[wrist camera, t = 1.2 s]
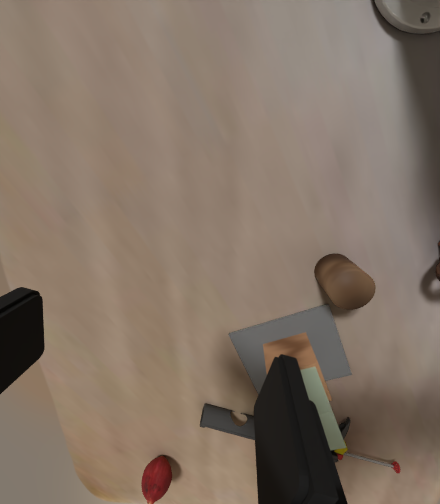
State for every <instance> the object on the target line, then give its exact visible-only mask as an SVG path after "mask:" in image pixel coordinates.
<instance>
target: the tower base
mask: <svg viewBox="0 0 440 504" xmlns="http://www.w3.org/2000/svg"><path fill="white" fill-rule="evenodd" d="M263 350H264V357H265V365H266V373H267V374H268V371H269V369H270V367H271V364H272V362H273V359H274V358H275V357H279V356H280V355H281V354H283V355H287V356H291V357H295V358H296V359H297V361H298V364H299V367H300V370H303V369H307V368H311V367H316V369H317V372H318V375H319V377H320V380H321V382H322V385H323V388H324V390H325V393H326V395H327V398H328V401H331V400H332V398H331V396H330V393H329V390H328V388H327V385H326V382H325V380H324V377H323V374H322V372H321V369H320V366H319V364H318V361H317V359H316V356H315V354H314V351H313V349H312V346H311V344H310V341H309V339H308V337H307V334H306V332H305V333H301V334H298V335H294V336H290V337H287V338H283V339H280V340H276V341H272V342H269V343H265V344H263Z"/></svg>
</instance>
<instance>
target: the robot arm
mask: <svg viewBox="0 0 440 504" xmlns="http://www.w3.org/2000/svg"><path fill="white" fill-rule="evenodd" d="M374 1H375V4H376V6H377V8H378V9H379V11H380V13H381V14H382V16H383V17H384V18H385V19H386V20H387V21H388V22H389V23H390V24H391V25H393V26H395V27H396V28H398V29H400V30H402V31H406V32H409V33H416V34H426V33H432V32H437V31H440V0H374ZM43 352H44V325H43V301H42V297H41V296H40V293H39V292H38V291H35V290H31V289H27V288H24V287H20V288H17V289H15V290H13V291H11V292H9V293H7V294H5V295H3V296H1V297H0V394H1V393H2V392H3V391H4V390H5V389H6V388H8V386H10V385H11V384H12V383H13V382H14V381H15V380H16V379H17V378H18V377H19V376H21V375H22V374H23V373H24V372H25V371H26V370H27V369H28V368H29V367H30V366H31V365H33V364H34V363H35V362H36V361H37V360H38V359H39V358H40V357H41V355H42V354H43ZM254 428H255V447H256V466H257V486H258V504H347V501H346V497H345V494H344V491H343V488H342V485H341V482H340V479H339V476H338V473H337V469H336V466H335V463H334V460H333V457H332V454H331V451H330V448H329V444H328V441H327V438H326V435H325V432H324V429H323V426H322V423H321V420H320V416H319V413H318V410H317V408H316V405H315V404H314V402H313V401H311V400H309V398H308V394H307V391H306V388H305V384H304V381H303V378H302V374H301V371H300V367H299V364H298V361H297V359H296V358H295V357H291V356H287V355H283V354H281V355H280V356H279V357H275V358H274V359H273V362H272V364H271V367H270V369H269V371H268V374H267V376H266V379H265V381H264V383H263V386H262V388H261V391H260V393H259V395H258V398H257V400H256V403H255V406H254Z"/></svg>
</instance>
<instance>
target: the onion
mask: <svg viewBox="0 0 440 504" xmlns="http://www.w3.org/2000/svg"><path fill="white" fill-rule="evenodd" d="M171 480H172V472H171V466H170V464H169V462H168V461H167V459H166V458H165V457H164V456H161V457H158V458H155V459H153V460H152V461H151V462H150V463H149V464H148V465H147V466H146V468H145V470H144V473H143V477H142V492H143V495H144V497H145V498H146V500H147V503H148V504H154V502H155V501H157V500H159V499H160V498H161V497H163V496H164V495H165V493H166V492H167V490H168V488H169V486H170V483H171Z"/></svg>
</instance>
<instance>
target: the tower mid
mask: <svg viewBox="0 0 440 504" xmlns="http://www.w3.org/2000/svg"><path fill="white" fill-rule="evenodd" d="M300 371H301V374H302V378H303V381H304V384H305V388H306V391H307V394H308V398H309V400H311V401H313V402H314V404H315V405H316V408H317V410H318V413H319V416H320V420H321V423H322V426H323V429H324V432H325V435H326V438H327V441H328V444H329V448H330V450H336V449H342V448H346V445H345V443H344V440H343V437H342V435H341V432H340V429H339V427H338V424H337V422H336V419H335V416H334V414H333V411H332V409H331V406H330V403H329V401H328V398H327V395H326V393H325V390H324V388H323V385H322V382H321V380H320V377H319V375H318V372H317V369H316V367H311V368H307V369H303V370H300Z"/></svg>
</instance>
